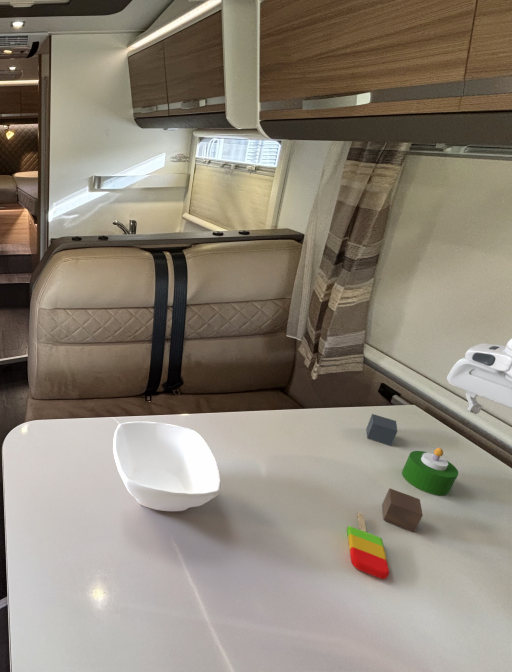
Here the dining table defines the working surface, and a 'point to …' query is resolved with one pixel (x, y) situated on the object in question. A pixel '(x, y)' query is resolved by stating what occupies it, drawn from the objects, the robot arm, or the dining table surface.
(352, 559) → the popsicle
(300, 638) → the dining table surface
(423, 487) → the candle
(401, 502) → the walnut block
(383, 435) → the slate block
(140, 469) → the bowl
